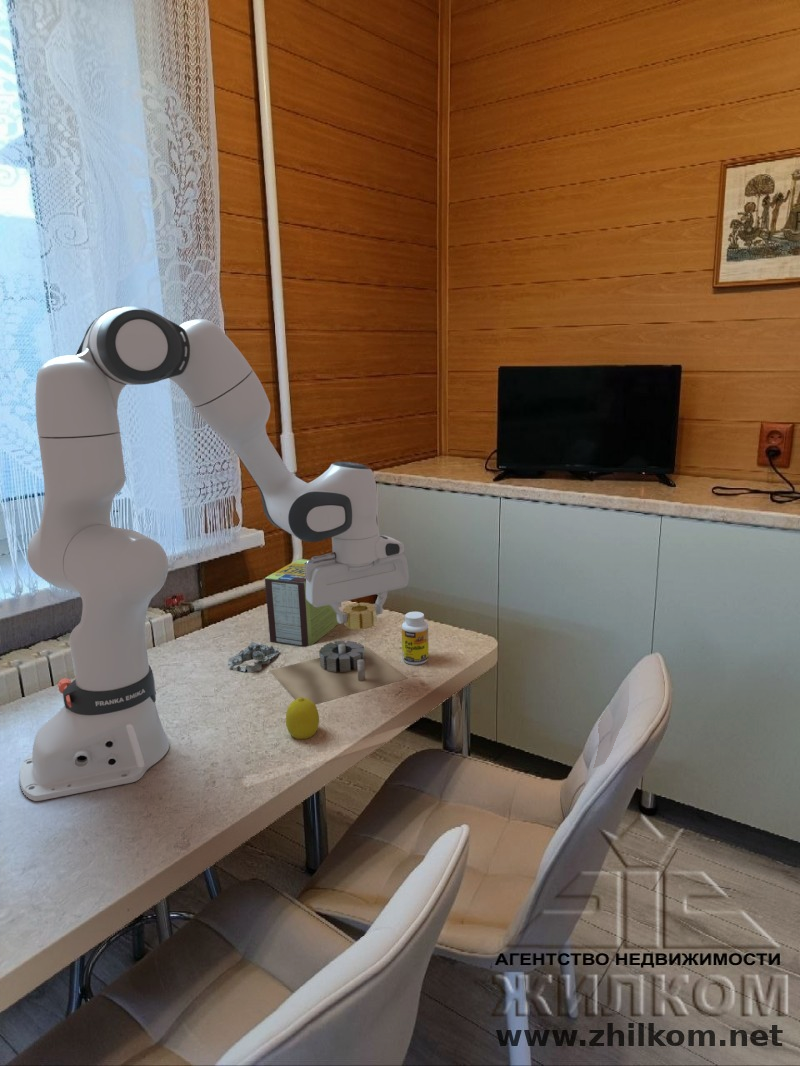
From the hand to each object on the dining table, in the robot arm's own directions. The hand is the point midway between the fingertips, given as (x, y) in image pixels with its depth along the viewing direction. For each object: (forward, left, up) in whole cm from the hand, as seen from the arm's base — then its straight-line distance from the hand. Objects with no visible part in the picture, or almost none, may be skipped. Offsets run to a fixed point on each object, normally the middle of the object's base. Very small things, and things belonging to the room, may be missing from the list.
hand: (360, 617), depth 134 cm
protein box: (+1, +32, -15) cm, 35 cm away
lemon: (-17, -12, -15) cm, 26 cm away
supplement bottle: (+15, +5, -15) cm, 21 cm away
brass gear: (0, 0, -1) cm, 1 cm away
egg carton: (-16, +20, -15) cm, 29 cm away
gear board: (-3, +5, -14) cm, 15 cm away
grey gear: (0, +9, -13) cm, 15 cm away
